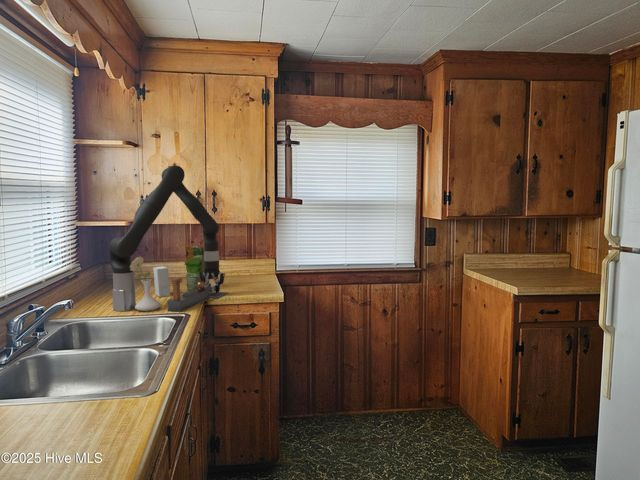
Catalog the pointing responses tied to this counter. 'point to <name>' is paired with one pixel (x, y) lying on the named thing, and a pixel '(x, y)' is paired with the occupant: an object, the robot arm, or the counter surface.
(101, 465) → the counter surface
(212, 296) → the rubber mat
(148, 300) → the flower in vase
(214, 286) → the lever cap
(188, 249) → the green plant in glass
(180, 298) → the hand plane
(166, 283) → the skincare box
